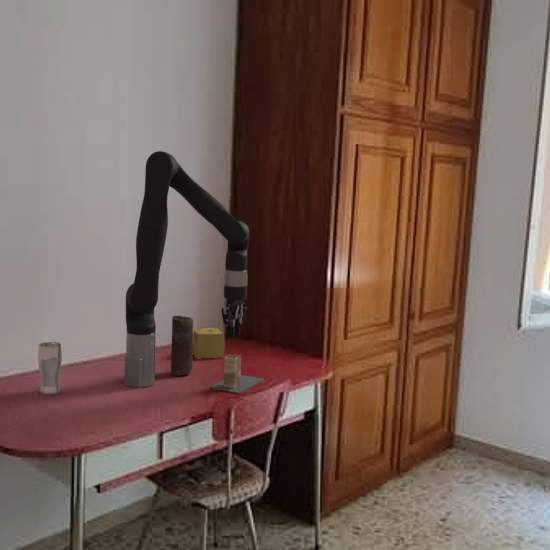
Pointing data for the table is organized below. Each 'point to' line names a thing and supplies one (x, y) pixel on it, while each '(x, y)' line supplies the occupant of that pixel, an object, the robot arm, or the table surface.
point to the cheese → (208, 343)
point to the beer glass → (49, 366)
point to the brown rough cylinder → (181, 345)
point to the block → (232, 370)
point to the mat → (245, 384)
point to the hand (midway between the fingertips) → (233, 335)
